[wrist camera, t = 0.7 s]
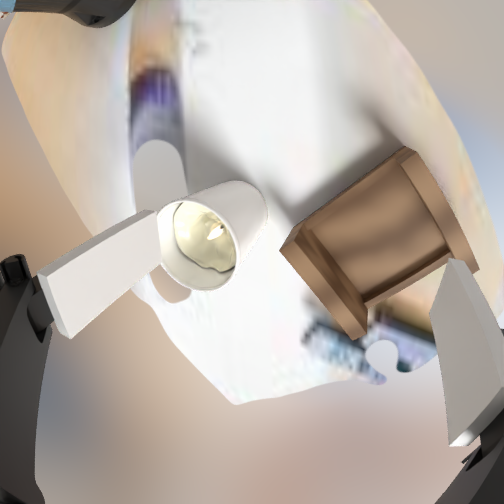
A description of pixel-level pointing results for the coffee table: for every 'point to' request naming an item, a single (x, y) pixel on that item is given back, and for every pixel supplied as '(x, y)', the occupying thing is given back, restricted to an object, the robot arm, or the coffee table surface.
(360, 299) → the wooden tray
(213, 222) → the candle holder
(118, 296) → the robot arm
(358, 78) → the coffee table surface
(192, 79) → the coffee table surface
